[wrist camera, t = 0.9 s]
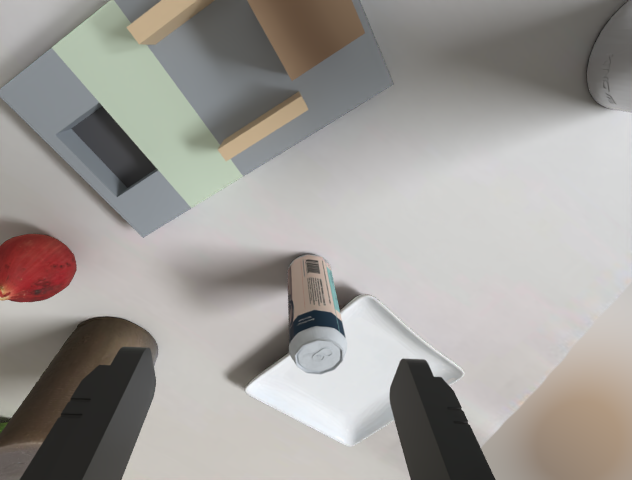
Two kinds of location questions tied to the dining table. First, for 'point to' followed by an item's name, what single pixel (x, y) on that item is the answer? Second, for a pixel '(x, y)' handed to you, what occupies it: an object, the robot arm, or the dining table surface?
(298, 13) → the block
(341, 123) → the dining table surface
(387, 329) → the salad plate
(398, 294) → the dining table surface
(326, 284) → the beer can
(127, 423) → the robot arm
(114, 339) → the pillar candle
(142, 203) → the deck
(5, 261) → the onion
